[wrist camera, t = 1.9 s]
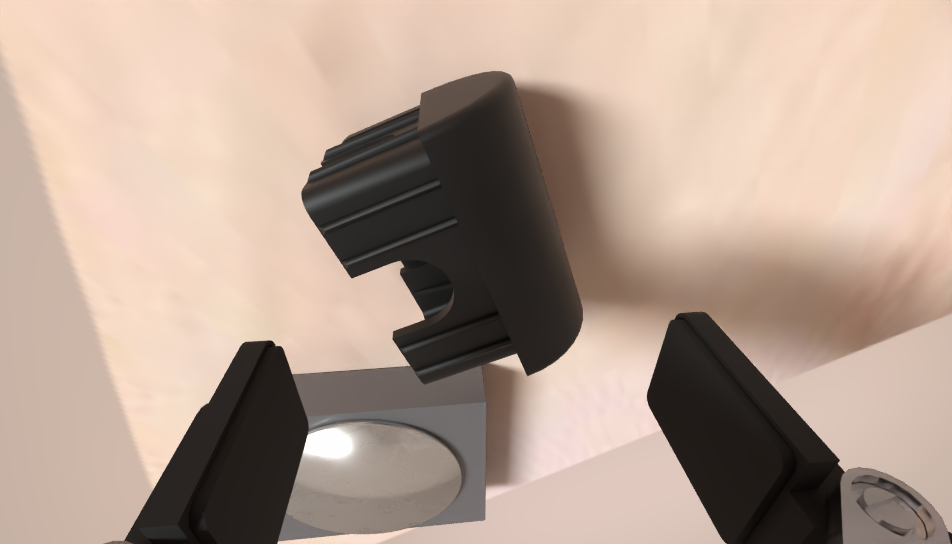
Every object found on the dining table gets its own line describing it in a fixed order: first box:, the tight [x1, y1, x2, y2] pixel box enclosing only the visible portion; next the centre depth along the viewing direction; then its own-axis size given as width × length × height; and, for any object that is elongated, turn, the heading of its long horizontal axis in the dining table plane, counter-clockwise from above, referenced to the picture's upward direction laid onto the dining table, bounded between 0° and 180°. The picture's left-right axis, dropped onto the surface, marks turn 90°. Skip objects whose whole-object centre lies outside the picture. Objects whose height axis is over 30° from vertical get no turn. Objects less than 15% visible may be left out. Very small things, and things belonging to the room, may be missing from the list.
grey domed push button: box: [278, 366, 486, 541], centre depth 26 cm, size 14×12×3 cm
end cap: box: [302, 71, 583, 385], centre depth 16 cm, size 10×7×7 cm
